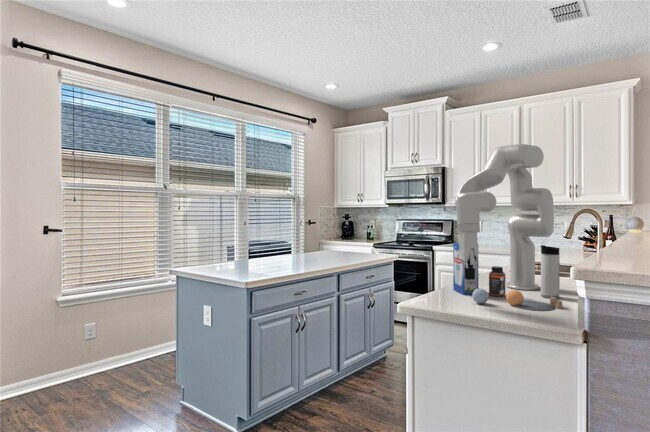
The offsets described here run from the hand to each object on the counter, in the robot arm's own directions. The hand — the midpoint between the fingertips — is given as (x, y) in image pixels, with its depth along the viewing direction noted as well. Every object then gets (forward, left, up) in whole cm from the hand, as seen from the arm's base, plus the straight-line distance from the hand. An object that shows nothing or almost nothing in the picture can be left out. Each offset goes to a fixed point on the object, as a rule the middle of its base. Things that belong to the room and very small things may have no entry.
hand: (469, 278), depth 144 cm
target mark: (-1, +21, -9) cm, 23 cm away
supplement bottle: (-17, +14, -10) cm, 24 cm away
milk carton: (-22, +3, -10) cm, 24 cm away
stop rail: (-1, +29, -9) cm, 31 cm away
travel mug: (-16, +33, -10) cm, 38 cm away
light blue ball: (-2, +4, -7) cm, 8 cm away
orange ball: (-1, +15, -7) cm, 17 cm away
